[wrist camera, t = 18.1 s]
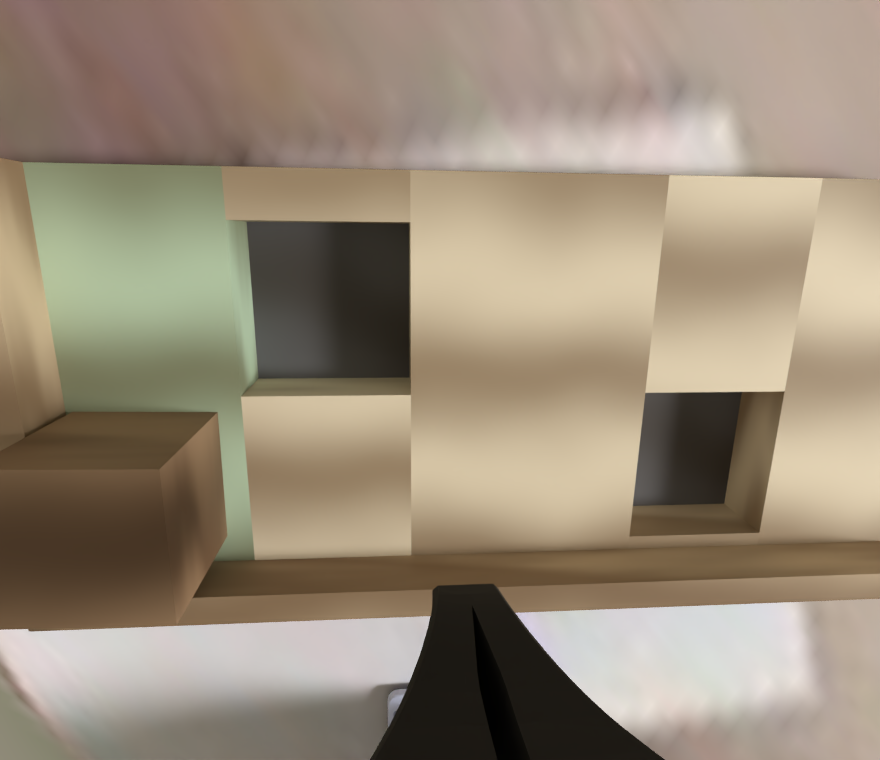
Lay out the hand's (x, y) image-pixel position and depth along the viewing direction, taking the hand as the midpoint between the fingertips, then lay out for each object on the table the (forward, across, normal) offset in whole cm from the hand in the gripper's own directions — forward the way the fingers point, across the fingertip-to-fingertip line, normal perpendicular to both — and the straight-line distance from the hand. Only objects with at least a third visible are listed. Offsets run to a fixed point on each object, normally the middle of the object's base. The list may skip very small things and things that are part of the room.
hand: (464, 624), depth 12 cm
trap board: (+10, -2, -3) cm, 11 cm away
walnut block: (+7, +10, 0) cm, 12 cm away
